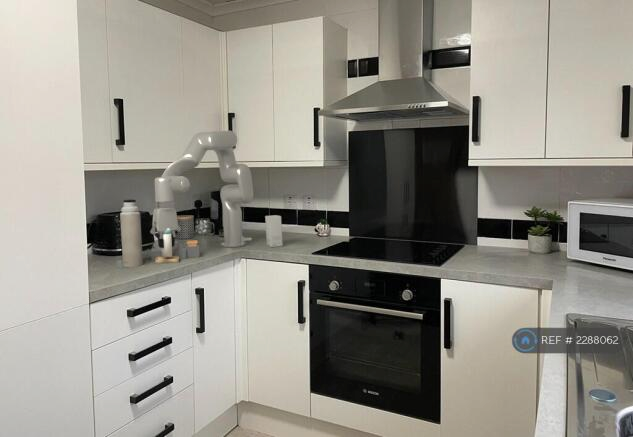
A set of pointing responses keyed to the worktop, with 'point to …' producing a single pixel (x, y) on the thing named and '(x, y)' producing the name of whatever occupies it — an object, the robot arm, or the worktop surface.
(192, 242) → the release button
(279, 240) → the skincare box
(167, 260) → the tray
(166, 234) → the cylinder
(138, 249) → the thermos bottle
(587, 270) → the worktop surface
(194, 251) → the housing
